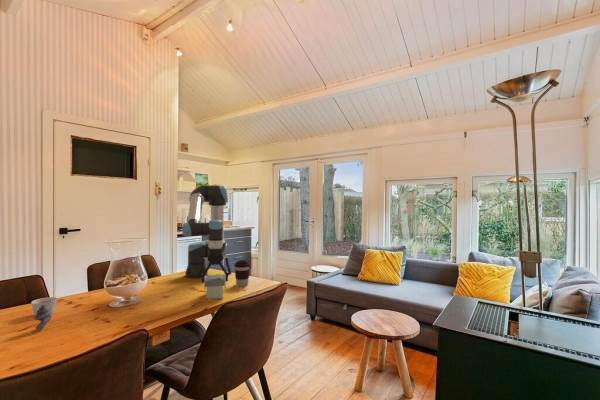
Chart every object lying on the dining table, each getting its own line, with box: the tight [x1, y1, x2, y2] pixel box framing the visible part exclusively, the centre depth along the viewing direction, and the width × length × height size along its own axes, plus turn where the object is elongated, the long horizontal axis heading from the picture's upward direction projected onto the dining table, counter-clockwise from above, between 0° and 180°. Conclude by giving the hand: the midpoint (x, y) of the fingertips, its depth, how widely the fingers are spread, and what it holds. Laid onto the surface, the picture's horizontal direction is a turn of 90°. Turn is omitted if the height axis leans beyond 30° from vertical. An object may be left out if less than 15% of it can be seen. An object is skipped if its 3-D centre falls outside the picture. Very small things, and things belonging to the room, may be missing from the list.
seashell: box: [34, 304, 53, 331], centre depth 119 cm, size 5×5×10 cm
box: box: [206, 286, 224, 301], centre depth 164 cm, size 12×8×7 cm
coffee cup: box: [233, 259, 251, 287], centre depth 186 cm, size 10×10×15 cm
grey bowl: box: [31, 296, 58, 317], centre depth 135 cm, size 9×9×6 cm
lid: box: [205, 274, 225, 288], centre depth 164 cm, size 13×10×4 cm
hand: (215, 287), depth 164 cm, fingers closed on lid, 10 cm apart
